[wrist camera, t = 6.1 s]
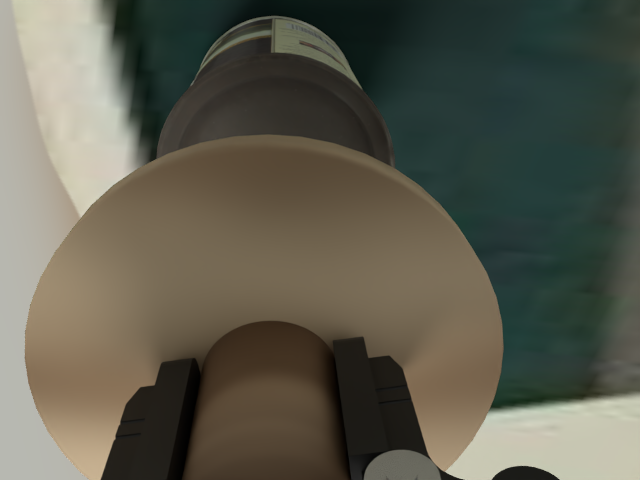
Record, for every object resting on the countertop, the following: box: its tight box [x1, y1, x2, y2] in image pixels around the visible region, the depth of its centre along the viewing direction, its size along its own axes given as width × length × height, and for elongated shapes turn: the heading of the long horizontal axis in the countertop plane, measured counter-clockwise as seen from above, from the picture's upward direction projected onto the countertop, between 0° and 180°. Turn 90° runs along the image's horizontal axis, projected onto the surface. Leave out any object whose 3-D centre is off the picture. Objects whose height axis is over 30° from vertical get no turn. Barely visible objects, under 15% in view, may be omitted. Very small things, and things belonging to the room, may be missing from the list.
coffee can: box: [156, 16, 395, 168], centre depth 32 cm, size 10×10×14 cm
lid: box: [25, 134, 503, 480], centre depth 13 cm, size 11×11×5 cm
